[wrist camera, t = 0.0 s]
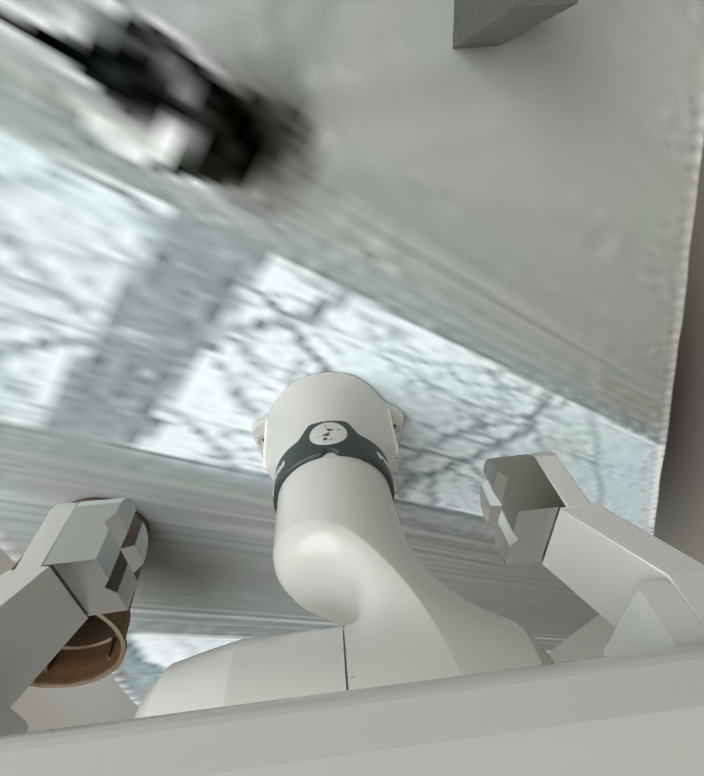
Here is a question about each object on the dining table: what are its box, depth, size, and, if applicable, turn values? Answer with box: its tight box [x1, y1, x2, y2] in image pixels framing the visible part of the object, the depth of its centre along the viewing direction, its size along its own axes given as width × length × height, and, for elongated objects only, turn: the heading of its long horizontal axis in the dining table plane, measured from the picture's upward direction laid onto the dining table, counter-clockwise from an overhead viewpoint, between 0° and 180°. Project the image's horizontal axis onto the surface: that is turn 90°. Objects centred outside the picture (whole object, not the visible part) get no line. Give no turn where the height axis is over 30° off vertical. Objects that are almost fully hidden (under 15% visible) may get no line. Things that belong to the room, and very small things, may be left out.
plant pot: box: [11, 498, 149, 688], centre depth 54 cm, size 16×16×16 cm
